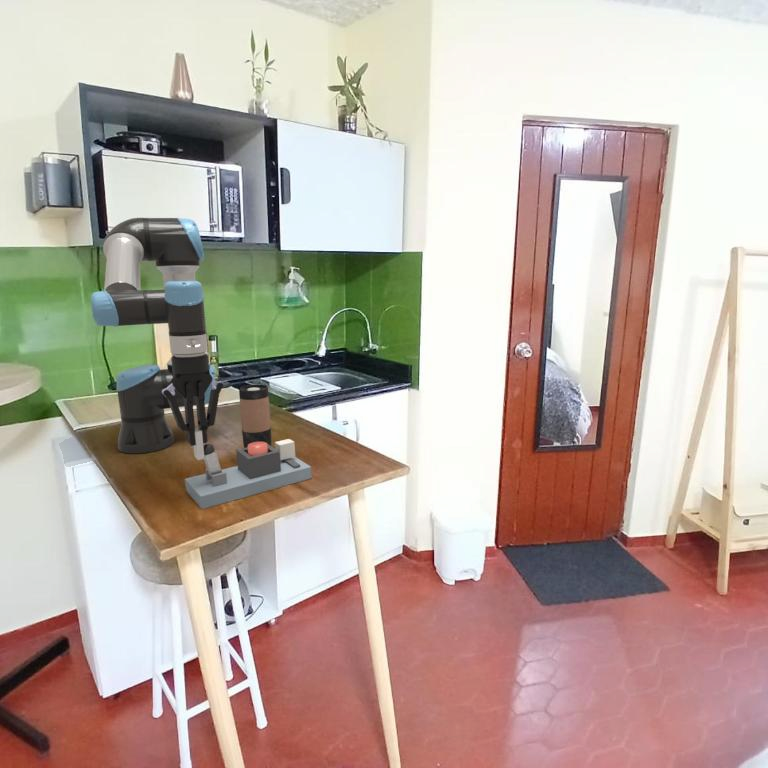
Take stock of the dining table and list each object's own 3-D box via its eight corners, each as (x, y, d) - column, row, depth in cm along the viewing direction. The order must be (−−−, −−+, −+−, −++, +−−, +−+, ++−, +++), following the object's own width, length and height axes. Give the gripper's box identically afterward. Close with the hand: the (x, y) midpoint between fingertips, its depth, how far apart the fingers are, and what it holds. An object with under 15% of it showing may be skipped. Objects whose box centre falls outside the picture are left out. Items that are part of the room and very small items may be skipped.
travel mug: (278, 457, 142) (274, 386, 138) (254, 465, 137) (249, 392, 132) (262, 451, 147) (257, 382, 142) (238, 458, 142) (232, 388, 137)
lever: (208, 475, 120) (198, 445, 117) (219, 470, 121) (210, 440, 119) (212, 479, 118) (202, 448, 115) (223, 474, 119) (214, 443, 116)
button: (246, 465, 126) (244, 444, 125) (264, 461, 129) (262, 440, 128) (253, 471, 123) (252, 449, 121) (271, 466, 125) (270, 445, 124)
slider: (275, 456, 132) (274, 442, 131) (289, 453, 134) (289, 438, 133) (280, 460, 130) (279, 445, 129) (295, 456, 132) (294, 441, 131)
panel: (185, 490, 122) (182, 458, 120) (289, 463, 138) (288, 435, 136) (202, 509, 113) (198, 475, 111) (311, 478, 128) (310, 447, 126)
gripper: (162, 359, 104) (173, 469, 110) (225, 353, 112) (233, 456, 117) (153, 355, 110) (164, 459, 116) (214, 349, 118) (222, 447, 123)
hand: (199, 457), depth 116 cm, fingers closed
